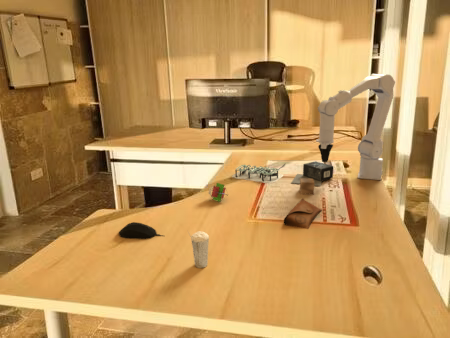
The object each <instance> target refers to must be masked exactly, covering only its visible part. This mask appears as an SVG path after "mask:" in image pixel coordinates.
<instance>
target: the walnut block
mask: <svg viewBox="0 0 450 338" xmlns="http://www.w3.org/2000/svg"><path fill="white" fill-rule="evenodd" d="M299 193H300V195H312V196H313V195H314V194H315V186H314V180H313V179H307V178H300V184H299Z"/></svg>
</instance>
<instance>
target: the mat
mask: <svg viewBox="0 0 450 338" xmlns="http://www.w3.org/2000/svg"><path fill="white" fill-rule="evenodd" d="M300 178H307V179H312V178H309V177H306V176H303V173H297V174H295V176H294V178H293V179H292V181H291V182H290V184H294V185H300ZM313 180H314V187H321V185H322V183H323V181H318V180H315V179H313Z"/></svg>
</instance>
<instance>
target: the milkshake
mask: <svg viewBox="0 0 450 338" xmlns="http://www.w3.org/2000/svg"><path fill="white" fill-rule="evenodd" d="M187 233H188V235H189V237H190V239H191V247H192V254H193V261H194V262H193V263H194V266H195V267H196V268H198V269H203V268H206V267H207V266H208V262H209V239H210V236H209V234H208V233H207V232H205V231H200V230H198V231H196V232H194V233H193V234H192V235H191V234H190V232H189V231H187Z"/></svg>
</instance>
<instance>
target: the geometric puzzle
mask: <svg viewBox="0 0 450 338" xmlns="http://www.w3.org/2000/svg"><path fill="white" fill-rule="evenodd" d="M225 192H228V191H227V188H226V187H225V184H222V183H219V182H216V184H215V185H212V186H210V187H209V189H208V195H209V196H210V197H211V199H212V200H213V201H216V202H219V203H221V201H223V199H224V198H225V197H224V196H225V195H226V197H227V196H228V195H229V194H228V193H227V194H226V193H225Z"/></svg>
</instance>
